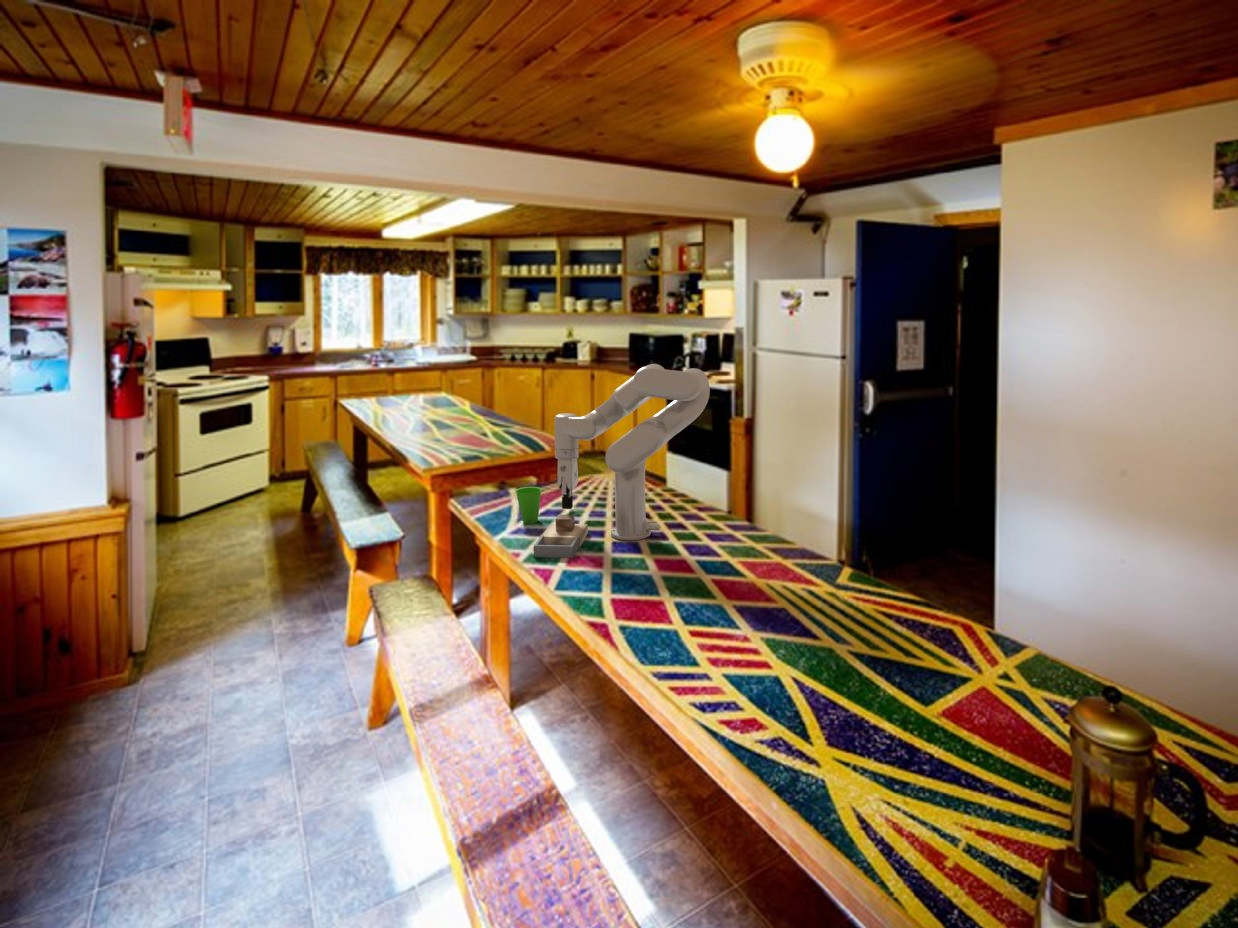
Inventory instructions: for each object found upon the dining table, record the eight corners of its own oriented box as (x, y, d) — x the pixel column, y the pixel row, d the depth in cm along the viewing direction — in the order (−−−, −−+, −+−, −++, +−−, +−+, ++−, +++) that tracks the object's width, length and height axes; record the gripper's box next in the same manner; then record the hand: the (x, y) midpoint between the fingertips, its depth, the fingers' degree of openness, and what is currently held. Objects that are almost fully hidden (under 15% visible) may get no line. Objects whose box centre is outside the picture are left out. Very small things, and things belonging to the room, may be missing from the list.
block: (574, 526, 227) (574, 514, 226) (571, 531, 222) (571, 519, 222) (559, 526, 228) (558, 514, 227) (556, 531, 223) (555, 519, 222)
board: (587, 533, 230) (587, 524, 229) (580, 546, 218) (579, 537, 217) (551, 532, 232) (550, 523, 231) (541, 545, 219) (540, 536, 219)
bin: (579, 547, 217) (578, 536, 217) (573, 557, 208) (572, 546, 208) (541, 546, 219) (541, 535, 218) (534, 556, 210) (533, 545, 209)
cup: (532, 526, 238) (530, 494, 236) (511, 523, 243) (509, 491, 240) (548, 519, 246) (547, 488, 243) (528, 516, 250) (526, 485, 248)
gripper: (573, 458, 220) (574, 515, 224) (582, 448, 234) (583, 502, 239) (549, 457, 221) (550, 514, 225) (560, 447, 235) (561, 501, 240)
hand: (567, 508), depth 232 cm, fingers closed
